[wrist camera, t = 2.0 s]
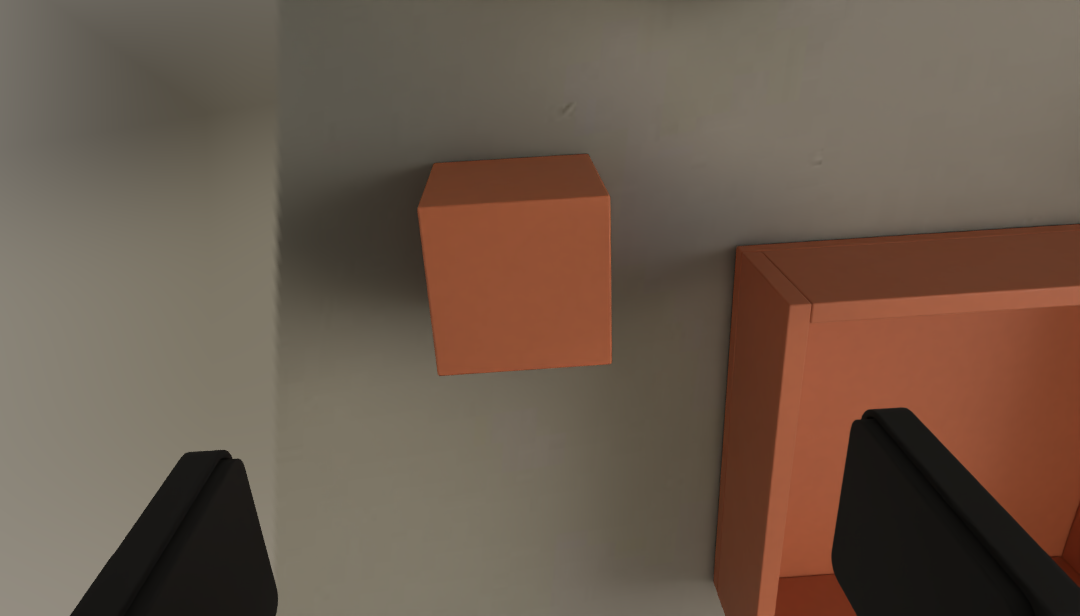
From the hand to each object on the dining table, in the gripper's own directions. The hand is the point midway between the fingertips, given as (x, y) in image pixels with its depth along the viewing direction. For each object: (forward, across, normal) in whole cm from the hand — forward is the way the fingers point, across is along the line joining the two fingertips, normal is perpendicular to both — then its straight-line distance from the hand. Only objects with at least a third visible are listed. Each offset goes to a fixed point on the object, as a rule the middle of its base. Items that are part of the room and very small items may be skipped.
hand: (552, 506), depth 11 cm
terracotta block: (+12, 0, 0) cm, 12 cm away
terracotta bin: (+12, -14, +8) cm, 20 cm away
